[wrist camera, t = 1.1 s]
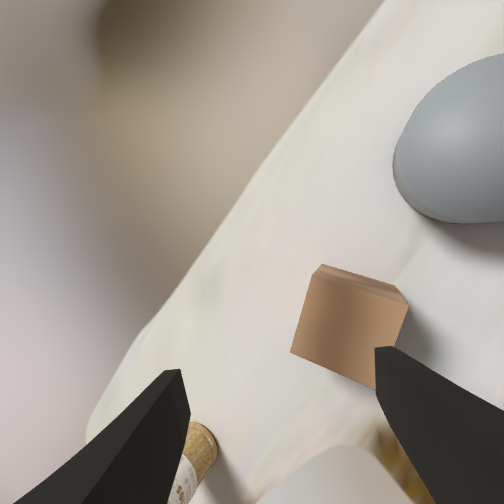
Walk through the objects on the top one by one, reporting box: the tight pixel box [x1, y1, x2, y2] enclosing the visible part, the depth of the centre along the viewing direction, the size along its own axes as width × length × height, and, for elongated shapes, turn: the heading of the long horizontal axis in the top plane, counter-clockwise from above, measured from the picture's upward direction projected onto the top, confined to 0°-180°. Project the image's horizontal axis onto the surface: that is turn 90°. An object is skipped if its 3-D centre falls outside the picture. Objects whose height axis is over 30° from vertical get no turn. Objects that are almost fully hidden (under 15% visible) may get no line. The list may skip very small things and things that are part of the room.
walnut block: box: [290, 264, 409, 390], centre depth 16 cm, size 5×5×5 cm
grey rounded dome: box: [393, 54, 504, 224], centre depth 14 cm, size 8×8×3 cm
